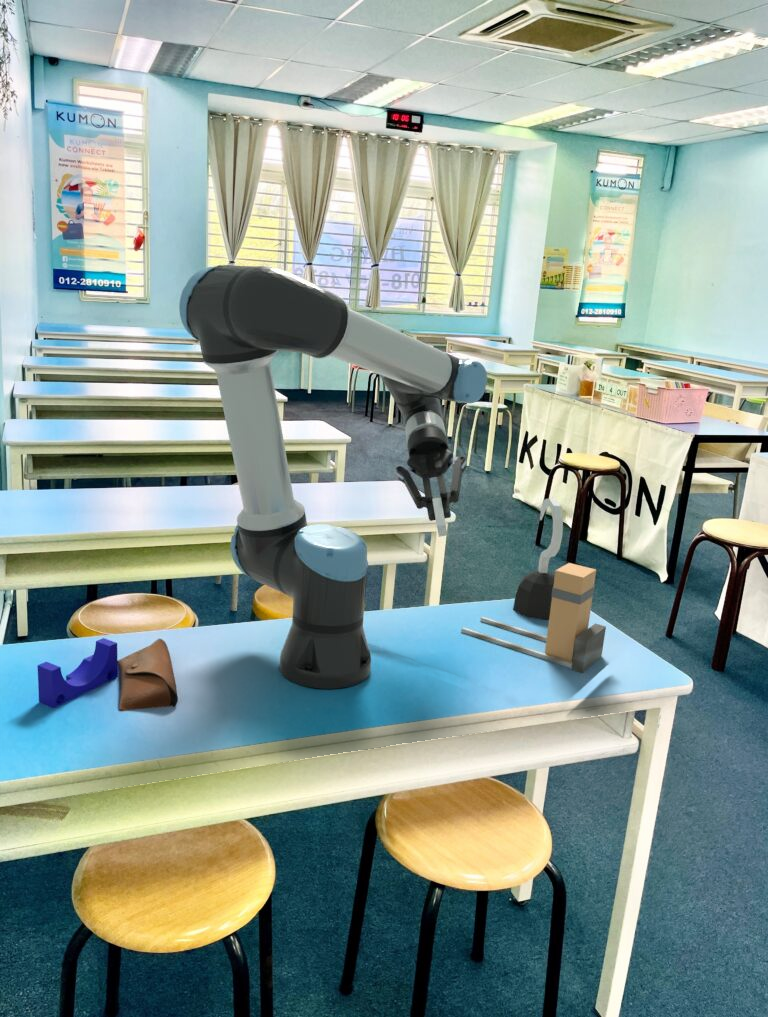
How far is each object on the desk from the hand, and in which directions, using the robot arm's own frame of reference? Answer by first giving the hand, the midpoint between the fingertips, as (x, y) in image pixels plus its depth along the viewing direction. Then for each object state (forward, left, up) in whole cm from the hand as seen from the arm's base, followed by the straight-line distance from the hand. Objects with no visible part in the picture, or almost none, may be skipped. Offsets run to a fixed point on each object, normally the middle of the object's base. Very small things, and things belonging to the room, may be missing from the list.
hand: (442, 530), depth 129 cm
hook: (+32, +13, -24) cm, 42 cm away
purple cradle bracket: (-57, +8, -24) cm, 62 cm away
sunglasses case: (-47, +7, -25) cm, 53 cm away
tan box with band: (+23, -7, -22) cm, 33 cm away
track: (+20, -1, -24) cm, 31 cm away
